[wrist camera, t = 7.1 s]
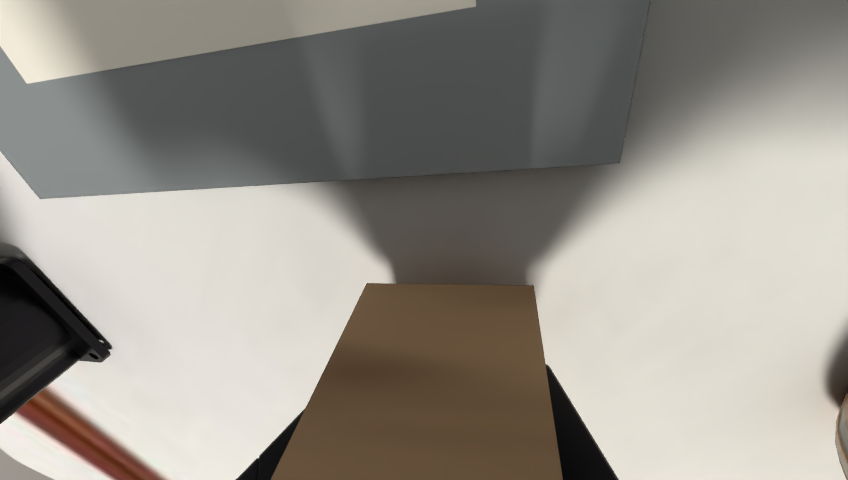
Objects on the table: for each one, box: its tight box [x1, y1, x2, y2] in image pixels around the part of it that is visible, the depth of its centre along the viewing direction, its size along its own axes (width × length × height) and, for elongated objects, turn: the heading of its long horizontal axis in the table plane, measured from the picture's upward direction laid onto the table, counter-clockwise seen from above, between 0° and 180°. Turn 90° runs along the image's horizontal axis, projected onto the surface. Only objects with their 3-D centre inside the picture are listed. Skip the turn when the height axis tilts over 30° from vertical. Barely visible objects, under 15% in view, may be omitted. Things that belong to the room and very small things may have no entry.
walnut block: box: [271, 283, 563, 480], centre depth 8 cm, size 4×4×5 cm
